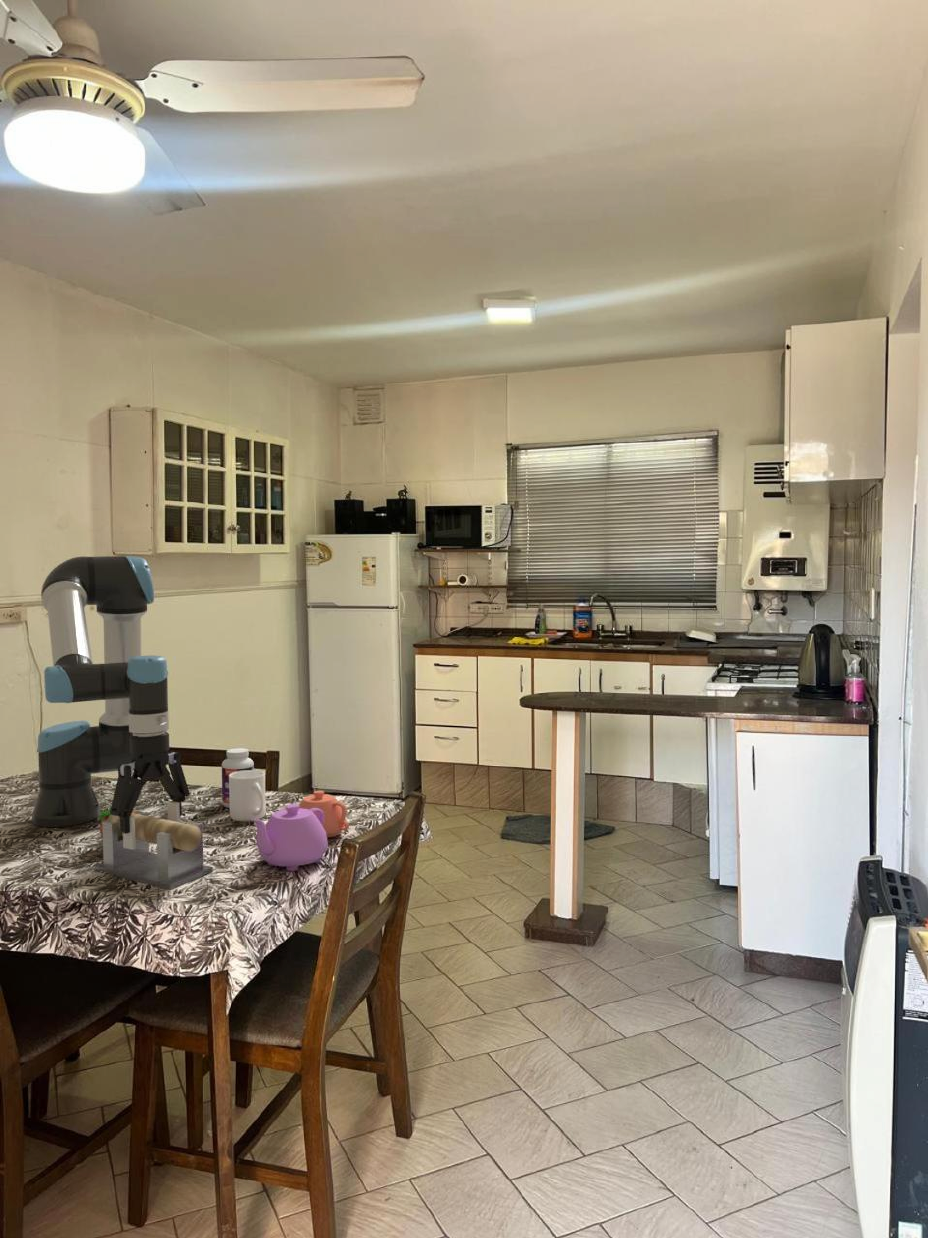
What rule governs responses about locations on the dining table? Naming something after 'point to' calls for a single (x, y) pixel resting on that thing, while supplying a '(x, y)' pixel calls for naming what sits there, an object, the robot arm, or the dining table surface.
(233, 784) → the mug
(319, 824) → the teapot
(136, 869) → the bracket stand
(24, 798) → the dining table surface
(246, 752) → the pill bottle
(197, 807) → the dining table surface
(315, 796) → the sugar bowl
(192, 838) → the baguette
